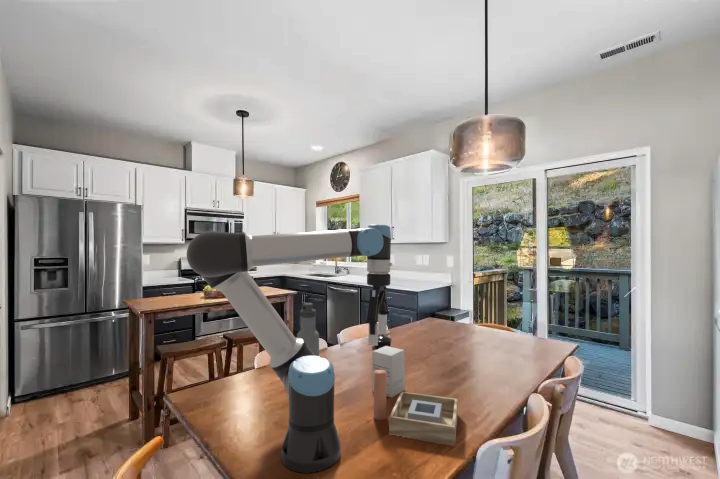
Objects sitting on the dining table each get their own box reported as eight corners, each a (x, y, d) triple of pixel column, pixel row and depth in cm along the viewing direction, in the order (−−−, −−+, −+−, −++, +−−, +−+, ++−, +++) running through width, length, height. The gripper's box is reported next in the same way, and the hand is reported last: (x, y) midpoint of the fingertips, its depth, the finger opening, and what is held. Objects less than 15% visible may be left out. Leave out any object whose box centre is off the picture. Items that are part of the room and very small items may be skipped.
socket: (439, 431, 98) (439, 417, 98) (407, 426, 100) (407, 412, 101) (441, 416, 106) (441, 403, 106) (412, 412, 109) (412, 399, 109)
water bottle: (294, 364, 156) (295, 302, 156) (315, 361, 159) (316, 301, 160) (299, 371, 146) (299, 305, 147) (321, 368, 150) (321, 304, 150)
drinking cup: (370, 372, 146) (370, 324, 146) (378, 366, 153) (378, 321, 153) (387, 375, 142) (387, 326, 143) (394, 369, 149) (394, 323, 150)
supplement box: (385, 383, 134) (385, 345, 134) (405, 390, 128) (405, 349, 128) (371, 391, 127) (371, 350, 127) (391, 398, 121) (391, 355, 121)
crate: (455, 446, 92) (454, 427, 92) (389, 434, 98) (389, 417, 98) (457, 414, 109) (457, 398, 109) (401, 406, 115) (401, 391, 115)
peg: (384, 421, 105) (384, 375, 105) (372, 419, 106) (372, 373, 107) (387, 415, 109) (387, 370, 109) (375, 413, 110) (375, 369, 110)
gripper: (382, 276, 98) (381, 351, 97) (396, 270, 122) (396, 331, 121) (356, 275, 100) (355, 349, 99) (375, 270, 124) (375, 329, 123)
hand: (378, 339), depth 110 cm, fingers open, 13 cm apart
